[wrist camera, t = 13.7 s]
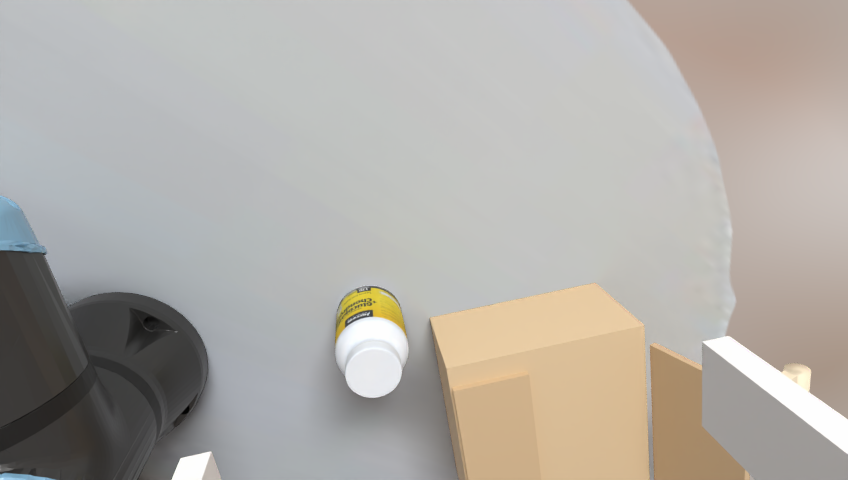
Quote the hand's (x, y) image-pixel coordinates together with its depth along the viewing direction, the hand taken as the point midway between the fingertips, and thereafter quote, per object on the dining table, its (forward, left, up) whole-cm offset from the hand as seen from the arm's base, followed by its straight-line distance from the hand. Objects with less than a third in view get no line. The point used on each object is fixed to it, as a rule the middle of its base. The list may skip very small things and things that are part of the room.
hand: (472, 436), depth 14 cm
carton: (+11, -26, -39) cm, 48 cm away
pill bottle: (-4, -14, -39) cm, 42 cm away
